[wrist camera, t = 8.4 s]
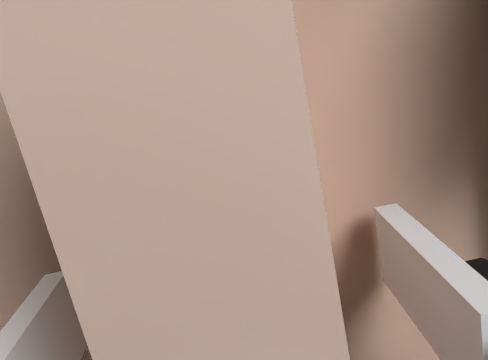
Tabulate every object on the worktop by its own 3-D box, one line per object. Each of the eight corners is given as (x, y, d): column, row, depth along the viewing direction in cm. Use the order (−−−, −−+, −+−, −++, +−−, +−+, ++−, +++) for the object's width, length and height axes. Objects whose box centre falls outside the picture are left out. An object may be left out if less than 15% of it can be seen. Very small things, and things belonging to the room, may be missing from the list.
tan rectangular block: (237, 482, 19) (252, 826, 11) (104, -24, 14) (-80, -143, 5) (331, 463, 19) (420, 792, 11) (233, -51, 14) (256, -215, 5)
